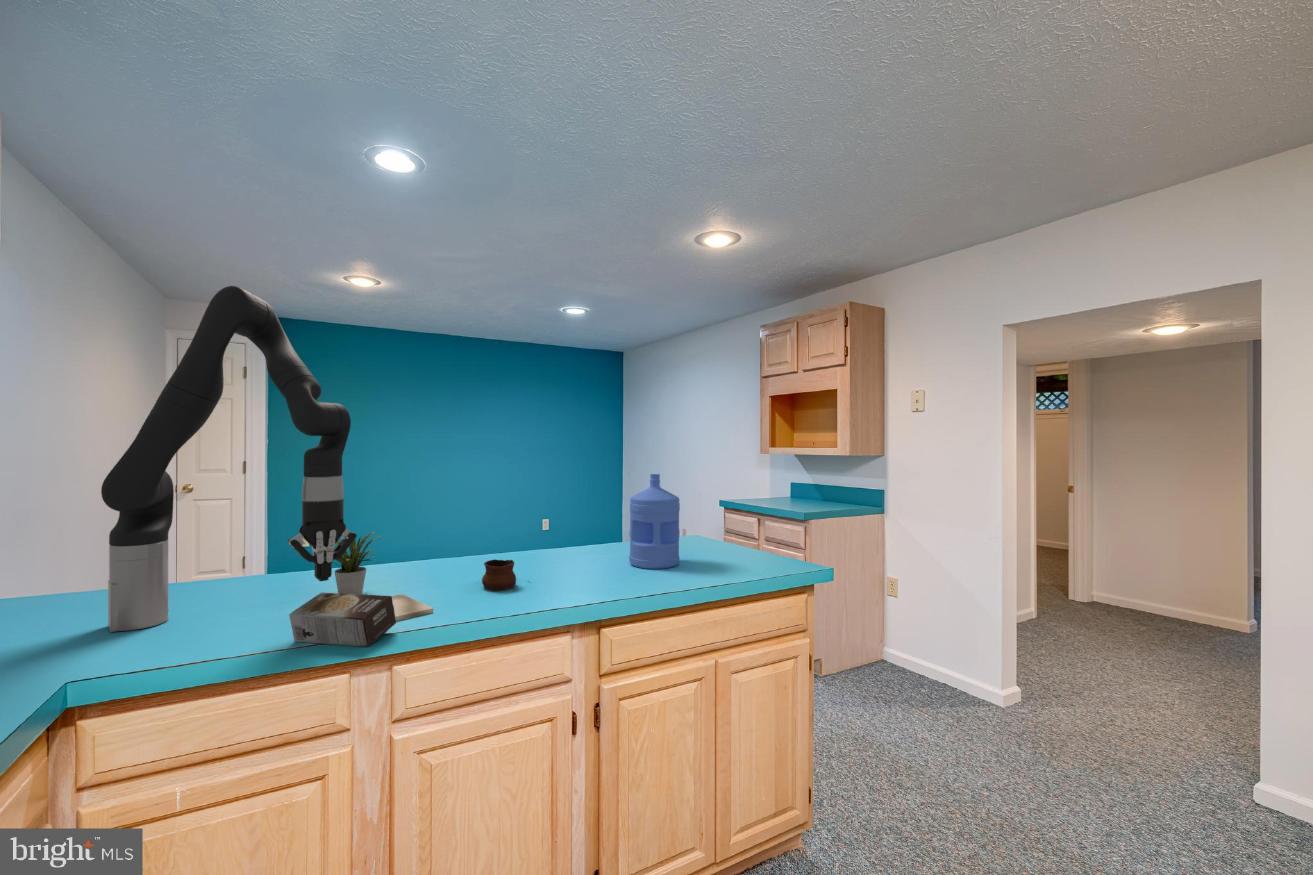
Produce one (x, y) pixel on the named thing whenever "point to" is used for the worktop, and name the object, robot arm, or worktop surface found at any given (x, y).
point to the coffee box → (343, 619)
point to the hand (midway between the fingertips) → (323, 580)
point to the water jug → (654, 527)
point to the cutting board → (408, 607)
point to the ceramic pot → (499, 575)
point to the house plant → (352, 568)
